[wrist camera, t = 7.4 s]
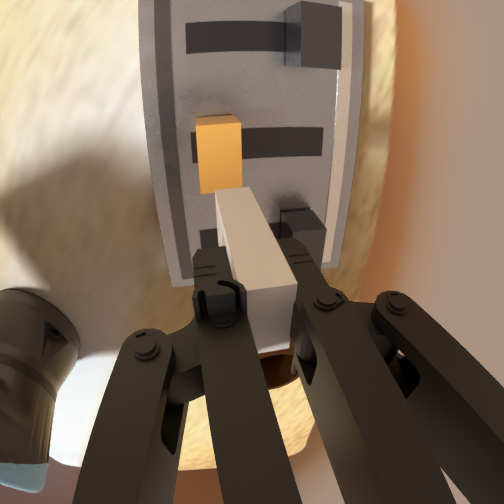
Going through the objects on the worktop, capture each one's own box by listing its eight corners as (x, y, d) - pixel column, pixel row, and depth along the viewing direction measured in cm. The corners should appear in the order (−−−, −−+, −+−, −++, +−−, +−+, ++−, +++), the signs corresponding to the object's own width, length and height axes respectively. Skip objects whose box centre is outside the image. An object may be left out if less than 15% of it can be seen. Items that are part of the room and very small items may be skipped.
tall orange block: (199, 177, 24) (200, 194, 21) (195, 117, 21) (195, 126, 19) (235, 173, 25) (242, 190, 22) (234, 115, 22) (240, 122, 19)
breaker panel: (172, 275, 32) (171, 314, 27) (142, -7, 16) (129, -25, 11) (331, 256, 35) (352, 289, 30) (353, 0, 19) (388, -9, 14)
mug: (323, 285, 37) (354, 342, 30) (309, 326, 41) (331, 381, 34) (227, 288, 35) (240, 354, 27) (222, 332, 39) (233, 394, 31)
